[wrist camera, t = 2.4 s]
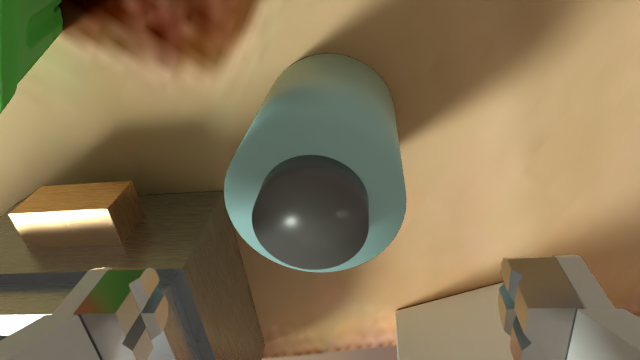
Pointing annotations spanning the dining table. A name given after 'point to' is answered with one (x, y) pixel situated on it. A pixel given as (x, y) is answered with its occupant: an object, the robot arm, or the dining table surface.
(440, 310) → the milk
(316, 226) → the capped canister
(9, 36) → the fruit basket
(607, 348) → the robot arm
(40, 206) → the gray drawer
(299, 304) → the dining table surface
